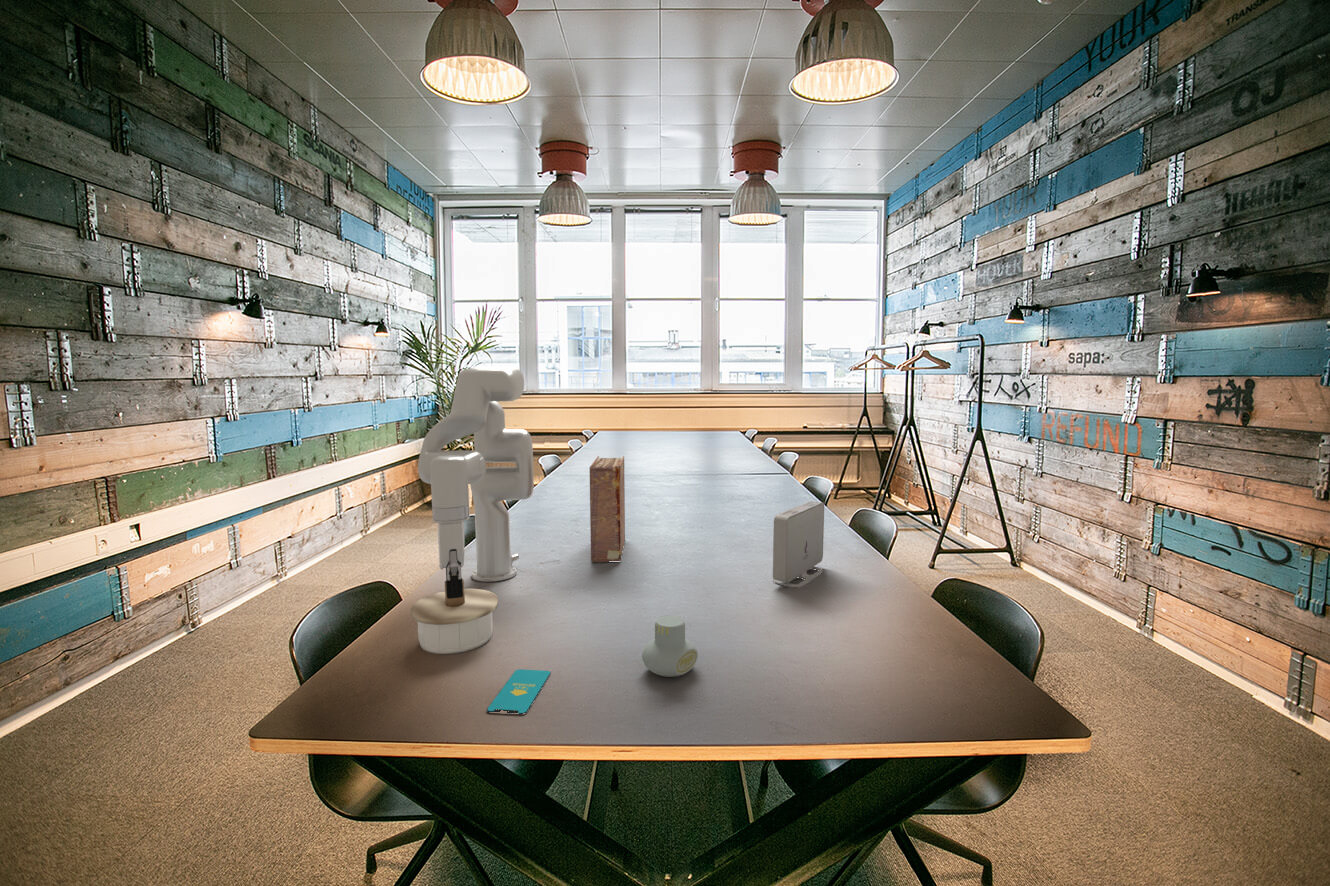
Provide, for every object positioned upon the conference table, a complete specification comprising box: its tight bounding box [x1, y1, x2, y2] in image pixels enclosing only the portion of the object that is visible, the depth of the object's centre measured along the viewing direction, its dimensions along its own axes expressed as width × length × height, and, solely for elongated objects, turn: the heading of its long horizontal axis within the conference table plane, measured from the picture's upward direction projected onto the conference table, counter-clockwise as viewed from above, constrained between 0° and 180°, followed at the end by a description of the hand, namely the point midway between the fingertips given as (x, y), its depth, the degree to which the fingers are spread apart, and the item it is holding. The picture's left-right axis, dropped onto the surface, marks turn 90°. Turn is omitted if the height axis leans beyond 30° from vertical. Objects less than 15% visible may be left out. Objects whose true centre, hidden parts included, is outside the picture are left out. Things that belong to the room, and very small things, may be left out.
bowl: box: [417, 611, 494, 655], centre depth 131 cm, size 15×15×7 cm
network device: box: [772, 500, 825, 588], centre depth 170 cm, size 26×9×20 cm, turn 143°
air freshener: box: [641, 615, 699, 678], centre depth 116 cm, size 11×8×10 cm
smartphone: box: [486, 668, 552, 714], centre depth 109 cm, size 7×1×15 cm
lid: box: [410, 578, 499, 625], centre depth 130 cm, size 18×18×6 cm
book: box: [589, 455, 626, 563], centre depth 195 cm, size 25×9×30 cm, turn 1°
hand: (454, 589), depth 130 cm, fingers open, 9 cm apart
